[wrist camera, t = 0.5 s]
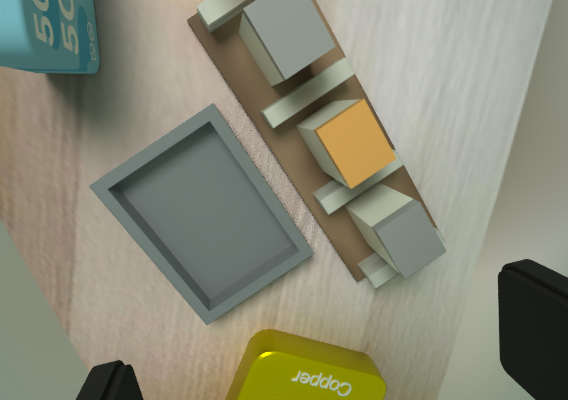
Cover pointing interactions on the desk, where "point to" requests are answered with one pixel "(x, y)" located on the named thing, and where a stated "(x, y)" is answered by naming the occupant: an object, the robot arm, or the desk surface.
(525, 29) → the desk surface
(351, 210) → the block
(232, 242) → the tray
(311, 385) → the element tile
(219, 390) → the desk surface
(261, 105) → the fuse board
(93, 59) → the data package
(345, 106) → the block
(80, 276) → the desk surface
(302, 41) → the block
